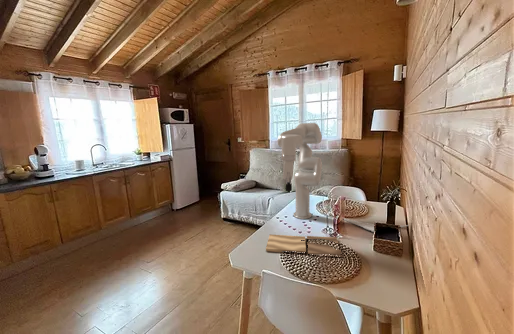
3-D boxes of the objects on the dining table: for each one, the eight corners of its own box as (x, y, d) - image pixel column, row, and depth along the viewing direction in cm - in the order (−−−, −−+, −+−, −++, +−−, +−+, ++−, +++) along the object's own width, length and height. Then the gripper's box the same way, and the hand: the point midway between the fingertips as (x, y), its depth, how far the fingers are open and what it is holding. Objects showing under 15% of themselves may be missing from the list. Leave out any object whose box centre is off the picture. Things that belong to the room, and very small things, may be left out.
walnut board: (306, 238, 135) (306, 235, 134) (336, 239, 132) (336, 237, 131) (307, 255, 117) (308, 252, 117) (342, 257, 114) (342, 254, 114)
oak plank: (269, 236, 137) (269, 234, 137) (305, 239, 134) (305, 236, 133) (265, 251, 122) (265, 248, 121) (305, 254, 118) (305, 251, 118)
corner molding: (337, 219, 164) (373, 233, 137) (337, 216, 164) (373, 230, 136) (370, 215, 175) (409, 228, 147) (370, 213, 175) (409, 225, 147)
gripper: (282, 156, 138) (283, 187, 141) (280, 160, 124) (281, 194, 127) (295, 156, 137) (295, 187, 140) (295, 160, 123) (295, 194, 126)
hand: (288, 190), depth 134 cm, fingers closed
